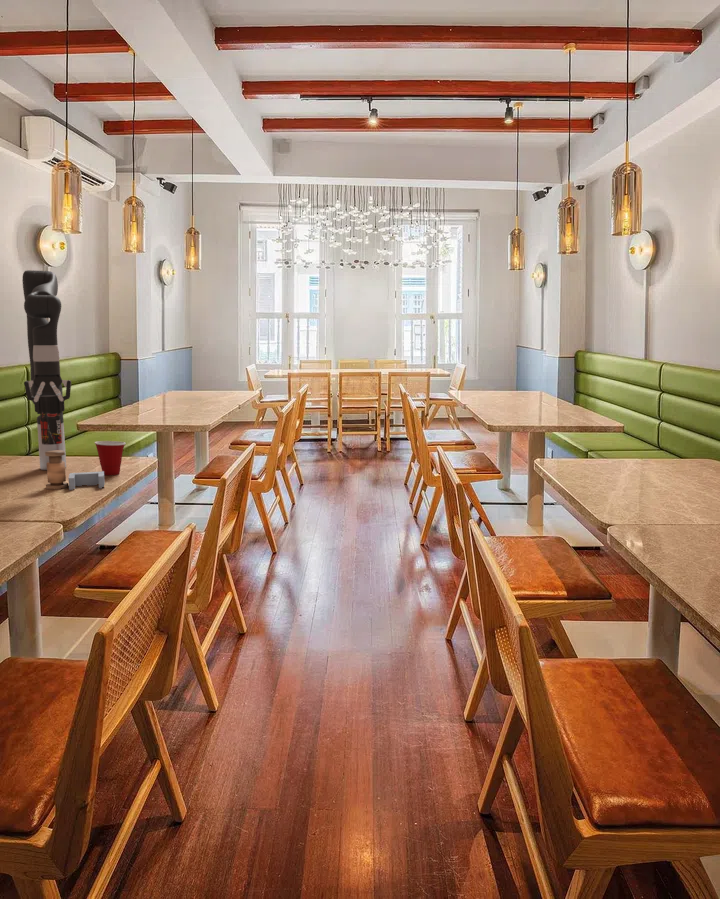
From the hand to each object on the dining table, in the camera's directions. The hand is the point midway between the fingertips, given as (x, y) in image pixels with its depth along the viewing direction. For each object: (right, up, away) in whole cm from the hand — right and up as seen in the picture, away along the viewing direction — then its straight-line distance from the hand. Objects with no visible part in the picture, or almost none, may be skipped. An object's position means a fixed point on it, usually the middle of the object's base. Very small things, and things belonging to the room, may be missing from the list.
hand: (49, 413), depth 237 cm
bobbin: (-3, -24, +13) cm, 28 cm away
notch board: (+6, -24, +15) cm, 29 cm away
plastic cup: (+7, -21, +37) cm, 43 cm away
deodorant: (0, -10, +1) cm, 10 cm away
